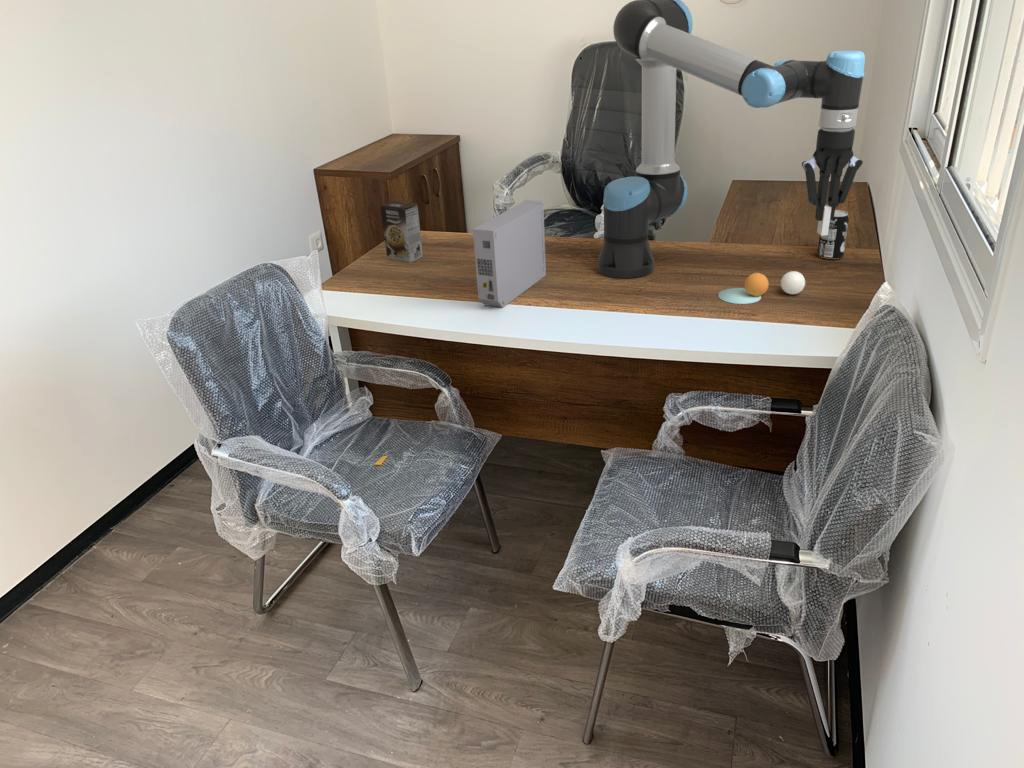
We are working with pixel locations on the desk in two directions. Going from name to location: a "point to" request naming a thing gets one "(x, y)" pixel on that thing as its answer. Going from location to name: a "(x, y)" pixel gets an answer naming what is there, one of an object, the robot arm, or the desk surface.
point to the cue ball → (793, 282)
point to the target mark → (737, 296)
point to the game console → (510, 253)
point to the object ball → (756, 284)
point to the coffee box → (401, 231)
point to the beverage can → (834, 236)
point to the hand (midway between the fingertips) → (822, 233)
